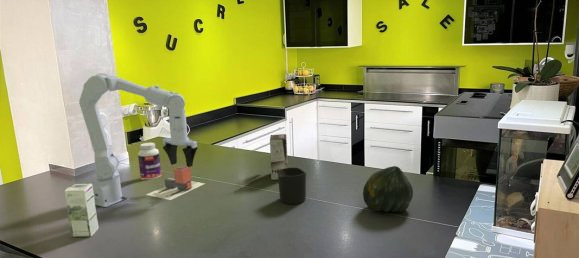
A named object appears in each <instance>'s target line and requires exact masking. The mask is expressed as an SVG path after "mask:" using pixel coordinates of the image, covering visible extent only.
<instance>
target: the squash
mask: <svg viewBox="0 0 579 258" xmlns="http://www.w3.org/2000/svg"><path fill="white" fill-rule="evenodd" d="M413 192H414V189H413V186H412V183H411V182H410V181H409V179H408V177H407V176H406V174H405V173H404V172H403V170H402V169H401V168H400V167H399V166H398V165H397V166H396V165H395V166H389V167H385V168H383V169H380V170H378V171H376V172H374V173H372V174H371V175H370V177H368V179H367V181H366V182H365V184H364V186H363V192H362V196H363V201H364V204H365V205H366V206H367V207H368V208H370V209H372V210H374V211H375V212H382V211H383V212H386V213H388V212H391V213H394V212H397V213H401V212H405V211H406V210H407V209H408V208H409V206H410V203H411V202H412V199H413V194H414V193H413Z"/></svg>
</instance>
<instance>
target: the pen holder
mask: <svg viewBox="0 0 579 258" xmlns="http://www.w3.org/2000/svg"><path fill="white" fill-rule="evenodd" d="M277 180H278V189H279V190H278V191H279V198H280V199H279V200H280V201H281V202H282V203H283V204H287V205H298V204H302V203H304V202H305V201H306V197H307V172H305V171H304V170H302V169H301V168H299V167H288V168H284V169H281V170H279V171H278V179H277Z"/></svg>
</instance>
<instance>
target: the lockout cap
mask: <svg viewBox="0 0 579 258" xmlns="http://www.w3.org/2000/svg"><path fill="white" fill-rule="evenodd" d="M173 173H174V174H173V175H174V178H175V182H177V183H182V184H184V183H186V182H188V181H192V173H191V167H187V165H180V166H178V167H176V168H173Z"/></svg>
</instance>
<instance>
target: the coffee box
mask: <svg viewBox="0 0 579 258" xmlns="http://www.w3.org/2000/svg"><path fill="white" fill-rule="evenodd" d="M287 145H288V142H287V134H285V133H283V134H281V133H280V134H278V133H277V134H271V135H270V138H269V150H270V156H269V157H270V174H271V175H270V176H271V177H270V179H271V180H278V171H279V170H281V169H284V168H289V167H288V146H287Z"/></svg>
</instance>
